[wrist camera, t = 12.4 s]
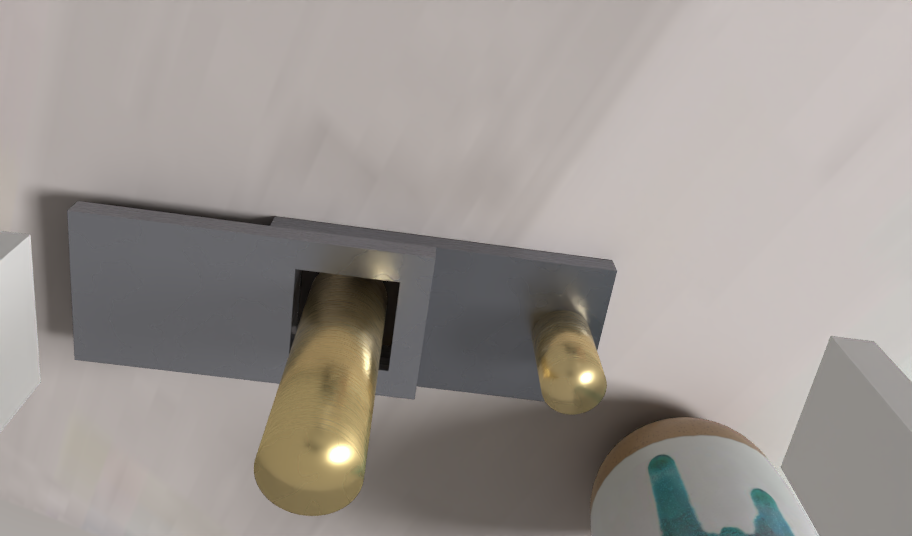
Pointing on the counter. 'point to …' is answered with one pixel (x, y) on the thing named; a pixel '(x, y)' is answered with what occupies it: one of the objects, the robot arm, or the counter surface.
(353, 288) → the pin
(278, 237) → the grey slide latch
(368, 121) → the counter surface
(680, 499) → the vase
